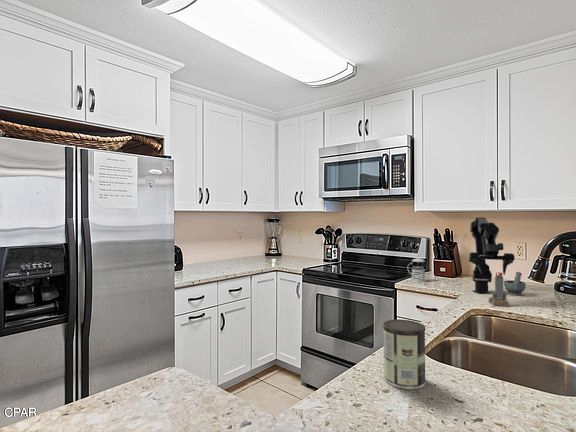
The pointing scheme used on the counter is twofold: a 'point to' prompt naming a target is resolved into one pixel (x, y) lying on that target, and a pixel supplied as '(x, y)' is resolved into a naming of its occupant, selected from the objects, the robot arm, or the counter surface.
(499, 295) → the nutcracker lever
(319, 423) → the counter surface
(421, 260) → the french press
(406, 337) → the coffee can
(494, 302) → the stand
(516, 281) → the mortar and pestle
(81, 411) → the counter surface
